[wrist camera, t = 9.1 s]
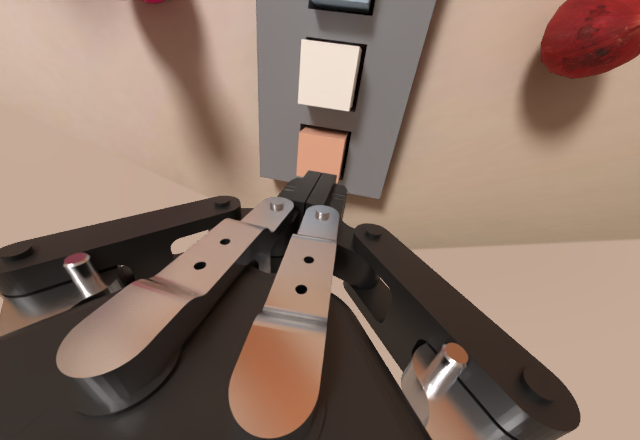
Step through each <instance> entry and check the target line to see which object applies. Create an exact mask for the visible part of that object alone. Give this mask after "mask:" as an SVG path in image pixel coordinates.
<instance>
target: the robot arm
mask: <svg viewBox="0 0 640 440" xmlns="http://www.w3.org/2000/svg"><path fill="white" fill-rule="evenodd" d="M336 179H337V175H334V174H328V173H322V172H316V171H310V170H308V171H307V173H306V174H305V176H304V177H303V178H298V177H297V178H295V179H293V180H290V182H289V183H288V184H287V186H286V187H285V188H284V189H283V190H282V191H281V193H280V194H279V195H278V196H277V197H271V198H267V199H264V200H263V201H262V202H260V203H259V204H258V205H257V206H256V207H255V208H241V204H240V201H239V199H237V198H235V197H232V196H217V197H213V198H208V199H204V200H200V201H195V202H191V203H187V204H182V205H178V206H174V207H169V208H165V209H160V210H156V211H152V212H147V213H143V214H139V215H134V216H130V217H126V218H121V219H117V220H113V221H108V222H104V223H99V224H95V225H91V226H86V227H82V228H78V229H74V230H69V231H65V232H60V233H56V234H52V235H47V236H43V237H39V238H34V239H30V240H25V241H21V242H17V243H14V244H11V245H8V246H5V247H3V248H0V296H1V297H2V298H3V300H4V301H3V305H2V309H1V313H0V440H556V439H558V438H560V437H561V436H563V435H565V434H567V433H569V432H571V431H573V430H574V429H576V428H577V427H578V426H579V423H580V411H579V408H578V405H577V403H576V401H575V399H574V397H573V396H572V394H571V393H570V391H569V390H568V389H567V387H566V386H565V385H564V384H563V383H562V382H561V381H560V379H559V378H557V377H556V376H555V375H554V374H553V373H552V372H551V371H550V370H549V369H547V368H546V367H545V366H544V365H543V364H542V363H541V362H539V361H538V360H537V359H536V358H535V357H534V356H532V355H531V354H530V353H529V352H528V351H527V350H525V349H524V348H523V347H522V346H521V345H520V344H518V343H517V342H516V341H515V340H514V339H513V338H512V337H510V336H509V335H508V334H507V333H506V332H505V331H503V330H502V329H501V328H500V327H499V326H498V325H497V324H495V323H494V322H493V321H492V320H491V319H490V318H488V317H487V316H486V315H485V314H484V313H483V312H481V311H480V310H479V309H478V308H477V307H476V306H474V305H473V304H472V303H471V302H470V301H469V300H468V299H466V298H465V297H464V296H463V295H462V294H460V293H459V292H458V291H457V290H456V289H455V288H454V287H452V286H451V285H450V284H449V283H448V282H447V281H445V280H444V279H443V278H442V277H441V276H440V275H438V274H437V273H436V272H435V271H434V270H433V269H431V268H430V267H429V266H428V265H427V264H426V263H425V262H423V261H422V260H421V259H420V258H419V257H418V256H417V255H415V254H414V253H413V252H412V251H411V250H410V249H408V248H407V247H406V246H405V245H404V244H403V243H401V242H400V241H399V240H398V239H397V238H396V237H395V236H393V235H392V234H391V233H390V232H389V231H388V230H386V229H385V228H383V227H381V226H379V225H375V224H361V225H358V226H357V227H356V228H355V229H354V228H352V227H350V226H348V225H346V224H345V223H344V222H343V221H342V218H343V214H344V208H345V202H346V196H347V191H348V190H347V189H346V187H345V186H344V185H338V184H336ZM205 230H209V232H208V233H207V234H206V235H205V236H204V237H202V238H201V239H200V240H198V241H197V242H196V243H195V244H194V245H192V246H191V247H190V248H189V249H187V250H186V251H185V252H183V253H180V254H172V252H171V244H172V243H173V242H174V241H175V240H177V239H179V238H181V237H185V236H188V235H192V234H195V233H198V232H202V231H205ZM121 265H124V266H122V267H121ZM333 275H334V276H336V277H338V278H340V279H342V280H344V282H343V284H344V288H345V290H346V291H347V293H348V294H349V296H350V297H351V298H352V300H353V301H354V303H355V304H356V306H357V307H358V308H359V310H360V311H361V313H362V314H363V315H364V317H365V318H366V320H367V321H368V323H369V324H370V326H371V327H372V328H373V330H374V331H375V333H376V334H377V336H378V337H379V338H380V340H381V341H382V343H383V344H384V346H385V347H386V348H387V350H388V351H389V353H390V354H391V356H392V357H393V359H394V360H395V361H396V363H397V364H398V366H399V367H400V369H401V370H402V371H403V374H402V378H401V387H402V390H401V388H400V387H399V385H398V384H397V382H396V380H395V379H394V377H393V375H392V374H391V372H390V371H389V369H388V367H387V366H386V364H385V363H384V361H383V360H382V358H381V356H380V355H379V353H378V351H377V350H376V348H375V347H374V345H373V343H372V342H371V340H370V339H369V337H368V335H367V334H366V332H365V330H364V329H363V327H362V326H361V324H360V322H359V321H358V319H357V318H356V316H355V315H354V313H353V312H352V310H351V309H350V308H349V307H348V306H347V305H346V304H345V303H344V302H343V301H342V300H341V299H339V298H338V297H337V296H336V295H334V294H332V293H331V285H332V277H333ZM380 278H381V279H382V280H383V281H384V282H385V283H386V284H387V286H388V287H389V288H388V287H387V286H386V285H385V284H384V283H383V282H382V280H380ZM402 391H403V392H402Z"/></svg>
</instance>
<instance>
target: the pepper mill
mask: <svg viewBox="0 0 640 440" xmlns="http://www.w3.org/2000/svg"><path fill="white" fill-rule="evenodd" d="M142 1H145V2H149V3H159V2H162V1H164V0H142Z"/></svg>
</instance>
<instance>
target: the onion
mask: <svg viewBox="0 0 640 440" xmlns="http://www.w3.org/2000/svg"><path fill="white" fill-rule="evenodd" d="M639 54H640V0H567V1H566V2H565V3H563V4H562V5H561V6H560V7H559V9H558V10H557V12H556V13H555V14H554V16H553V17H552V19H551V20H550V22H549V23H548V25H547V27H546V30H545V33H544V36H543V39H542V41H541V60H542V62H543V63H544V65H545V66H546V67H547V68H548V70H549V71H550V72H551V73H554V74H557V75H561V76H565V77H568V78H582V77H588V76H593V75H598V74H602V73H605V72H608V71H610V70H612V69H614V68H616V67H618V66H620V65H622V64H624V63H627V62H629V61H630V60H632V59H634V58H635V57H636V56H638V55H639Z"/></svg>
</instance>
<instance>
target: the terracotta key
mask: <svg viewBox="0 0 640 440" xmlns="http://www.w3.org/2000/svg"><path fill="white" fill-rule="evenodd" d="M348 133H349V131H343V130H337V129H331V128H325V127H319V126H313V125H307V126H306V127H305V128H304V129H303V130H301V131H300V132H299V142H298V157H297V173H296V176H301V177H304V176H305V174H306V173H307V171H308V170H310V171H316V172H322V173H328V174H334V175H337V179H336V183H338V181H339V178H340V175H341V172H342V167H343V161H344V156H345V150H346V144H347V138H348Z"/></svg>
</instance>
